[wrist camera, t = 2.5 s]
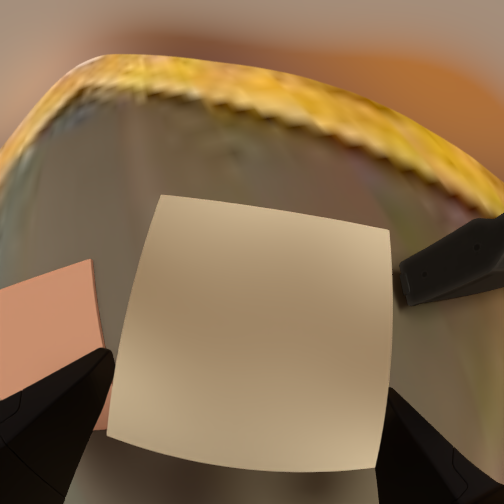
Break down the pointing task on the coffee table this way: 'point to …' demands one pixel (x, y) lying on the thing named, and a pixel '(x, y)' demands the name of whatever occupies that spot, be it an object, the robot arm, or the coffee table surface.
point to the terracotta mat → (49, 328)
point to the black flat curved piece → (457, 264)
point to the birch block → (256, 339)
